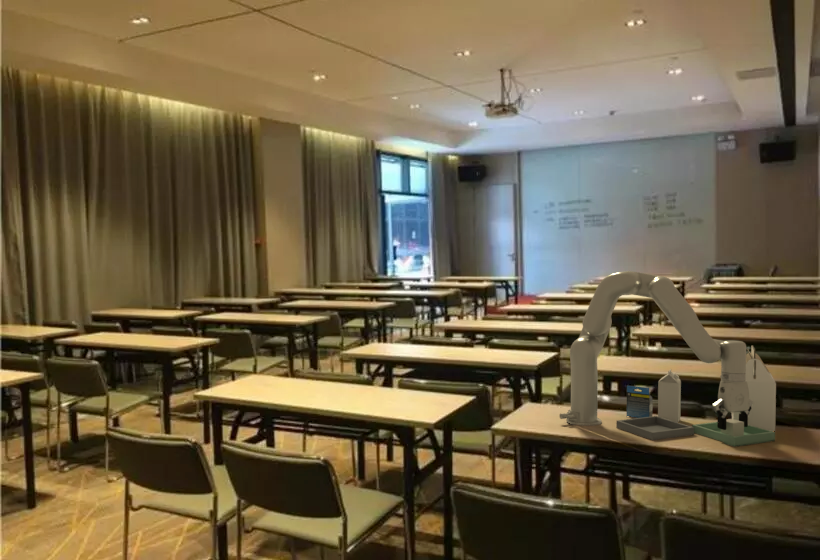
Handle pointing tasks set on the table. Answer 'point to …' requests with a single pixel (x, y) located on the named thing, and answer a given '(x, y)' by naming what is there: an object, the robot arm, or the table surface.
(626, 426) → the charcoal bin
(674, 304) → the robot arm
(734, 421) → the beige cube
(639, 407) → the label tape cartridge
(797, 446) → the table surface
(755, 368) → the gable box
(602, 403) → the table surface
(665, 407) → the milk carton
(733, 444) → the sage green bin
